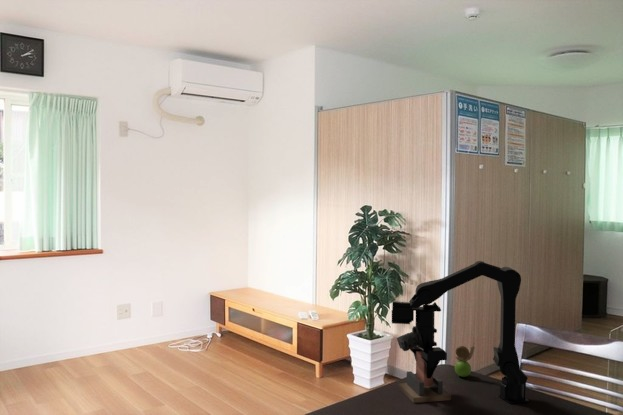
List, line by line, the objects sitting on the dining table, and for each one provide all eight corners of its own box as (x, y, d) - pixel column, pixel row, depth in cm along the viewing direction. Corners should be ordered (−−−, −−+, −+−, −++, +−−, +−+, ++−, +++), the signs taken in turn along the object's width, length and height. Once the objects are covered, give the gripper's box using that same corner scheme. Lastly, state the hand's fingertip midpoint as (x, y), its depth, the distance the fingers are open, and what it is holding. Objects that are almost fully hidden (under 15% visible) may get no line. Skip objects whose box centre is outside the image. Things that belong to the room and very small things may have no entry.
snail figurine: (473, 380, 173) (474, 344, 173) (453, 377, 175) (454, 342, 175) (474, 375, 178) (475, 340, 178) (455, 372, 180) (455, 338, 180)
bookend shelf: (433, 385, 168) (433, 368, 168) (450, 399, 156) (451, 381, 156) (398, 388, 165) (398, 371, 165) (413, 402, 154) (413, 384, 154)
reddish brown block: (424, 379, 164) (425, 350, 164) (432, 385, 158) (433, 356, 158) (415, 379, 163) (416, 351, 163) (423, 386, 157) (424, 357, 157)
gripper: (389, 318, 168) (389, 366, 168) (412, 333, 150) (411, 387, 150) (421, 317, 170) (421, 364, 170) (448, 332, 152) (447, 384, 152)
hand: (424, 374), depth 161 cm, fingers closed on reddish brown block, 6 cm apart
